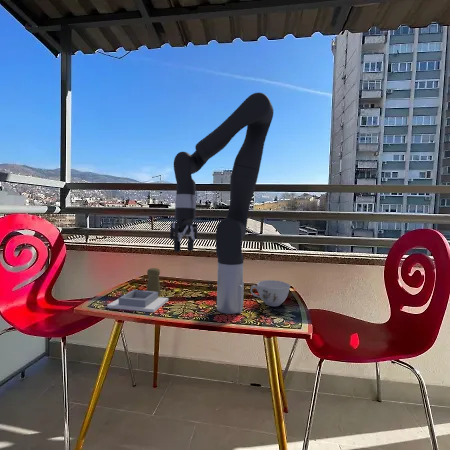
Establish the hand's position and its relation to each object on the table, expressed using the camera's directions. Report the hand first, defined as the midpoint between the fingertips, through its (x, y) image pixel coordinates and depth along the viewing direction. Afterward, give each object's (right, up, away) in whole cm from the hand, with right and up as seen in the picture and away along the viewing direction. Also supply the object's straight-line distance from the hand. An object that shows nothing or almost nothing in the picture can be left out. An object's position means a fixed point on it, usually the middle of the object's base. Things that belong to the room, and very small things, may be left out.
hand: (184, 251), depth 102 cm
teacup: (+32, -21, +5) cm, 39 cm away
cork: (-15, -20, +13) cm, 28 cm away
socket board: (-17, -20, +2) cm, 26 cm away
